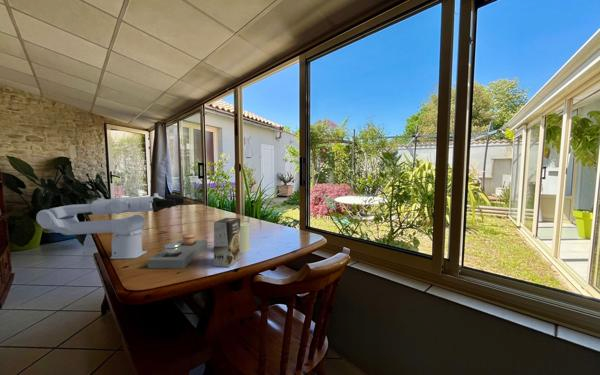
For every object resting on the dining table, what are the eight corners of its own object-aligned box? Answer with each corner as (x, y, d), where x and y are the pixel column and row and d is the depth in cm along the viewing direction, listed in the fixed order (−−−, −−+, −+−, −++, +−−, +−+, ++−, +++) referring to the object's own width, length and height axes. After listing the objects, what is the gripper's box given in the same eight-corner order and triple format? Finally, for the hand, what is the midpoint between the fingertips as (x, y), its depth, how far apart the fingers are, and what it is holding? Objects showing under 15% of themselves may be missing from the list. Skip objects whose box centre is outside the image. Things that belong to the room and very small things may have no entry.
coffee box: (229, 267, 85) (229, 222, 85) (213, 266, 87) (212, 221, 86) (241, 259, 94) (241, 217, 94) (225, 257, 96) (225, 217, 95)
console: (147, 268, 84) (147, 259, 84) (180, 247, 109) (180, 240, 109) (183, 268, 85) (182, 259, 84) (207, 246, 109) (207, 240, 109)
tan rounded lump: (179, 246, 101) (179, 236, 101) (185, 242, 106) (185, 233, 106) (192, 246, 101) (192, 236, 101) (197, 242, 106) (197, 233, 106)
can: (252, 247, 109) (252, 221, 109) (244, 254, 100) (244, 225, 100) (233, 246, 111) (233, 220, 110) (223, 252, 102) (223, 224, 101)
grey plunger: (162, 257, 87) (161, 246, 87) (169, 252, 92) (169, 242, 92) (176, 257, 87) (176, 246, 87) (183, 252, 92) (183, 242, 92)
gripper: (131, 195, 89) (169, 193, 89) (153, 192, 103) (186, 190, 103) (133, 215, 89) (171, 212, 89) (155, 209, 103) (187, 206, 104)
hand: (179, 201), depth 97 cm, fingers open, 7 cm apart
